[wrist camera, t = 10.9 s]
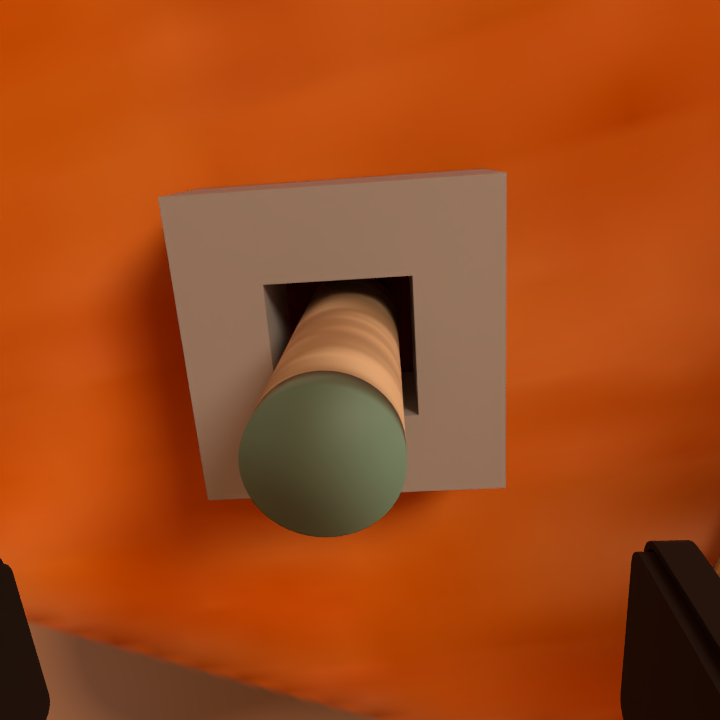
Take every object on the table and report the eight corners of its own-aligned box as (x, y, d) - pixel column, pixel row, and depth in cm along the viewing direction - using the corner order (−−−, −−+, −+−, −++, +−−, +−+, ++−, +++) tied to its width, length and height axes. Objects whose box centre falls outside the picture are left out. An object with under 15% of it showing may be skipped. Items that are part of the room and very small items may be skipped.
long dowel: (394, 269, 27) (403, 380, 14) (399, 356, 29) (410, 533, 15) (303, 275, 28) (227, 389, 14) (311, 361, 29) (249, 539, 16)
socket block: (484, 168, 26) (506, 172, 21) (486, 434, 30) (505, 487, 25) (198, 188, 27) (157, 197, 22) (235, 445, 30) (207, 500, 26)
